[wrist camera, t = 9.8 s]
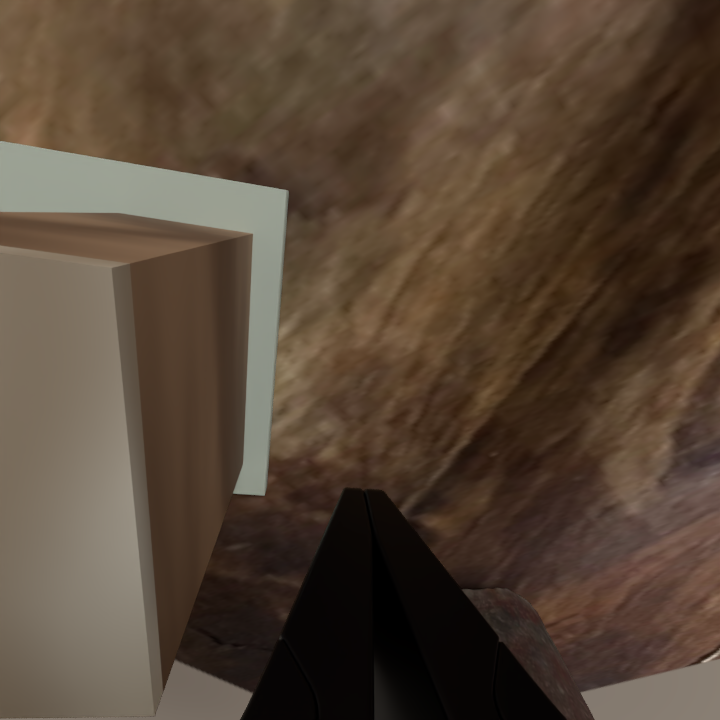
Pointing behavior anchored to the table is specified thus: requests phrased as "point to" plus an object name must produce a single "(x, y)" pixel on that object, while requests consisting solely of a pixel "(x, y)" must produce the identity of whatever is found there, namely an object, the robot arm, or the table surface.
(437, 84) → the table surface
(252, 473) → the sage mat
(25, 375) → the walnut slab
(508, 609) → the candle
